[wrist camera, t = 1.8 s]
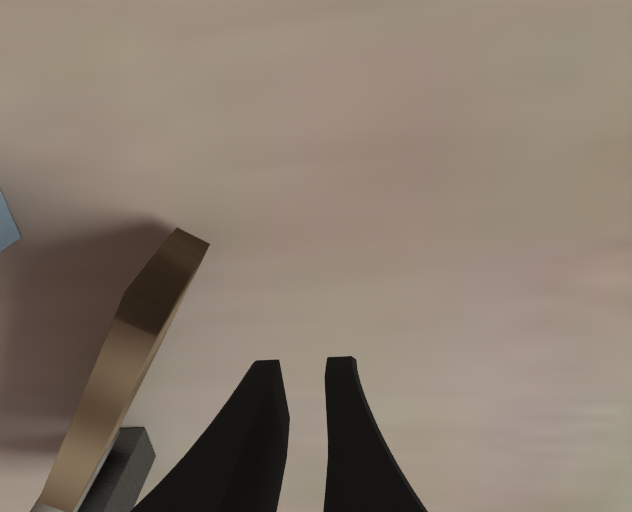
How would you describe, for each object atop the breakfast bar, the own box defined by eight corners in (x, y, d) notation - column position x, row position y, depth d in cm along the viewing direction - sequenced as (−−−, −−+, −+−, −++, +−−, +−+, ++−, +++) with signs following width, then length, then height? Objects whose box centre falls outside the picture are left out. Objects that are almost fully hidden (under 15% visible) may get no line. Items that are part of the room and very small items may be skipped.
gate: (114, 444, 25) (62, 539, 21) (82, 432, 25) (23, 525, 21) (213, 245, 19) (171, 316, 15) (174, 225, 19) (118, 291, 14)
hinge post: (155, 456, 28) (100, 583, 21) (108, 457, 28) (40, 583, 22) (144, 427, 26) (82, 553, 20) (95, 429, 27) (19, 553, 21)
